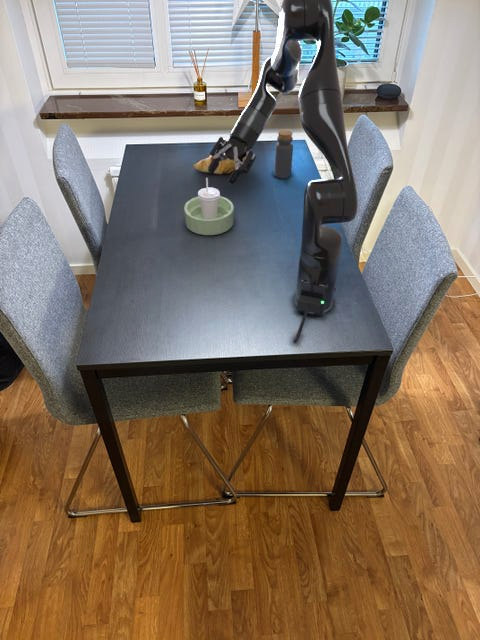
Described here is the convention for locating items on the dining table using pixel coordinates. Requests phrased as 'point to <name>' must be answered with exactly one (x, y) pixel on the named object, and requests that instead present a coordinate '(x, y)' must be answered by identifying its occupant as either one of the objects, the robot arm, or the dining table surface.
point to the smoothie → (209, 201)
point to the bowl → (209, 226)
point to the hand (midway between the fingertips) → (219, 177)
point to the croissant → (223, 167)
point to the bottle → (283, 154)
